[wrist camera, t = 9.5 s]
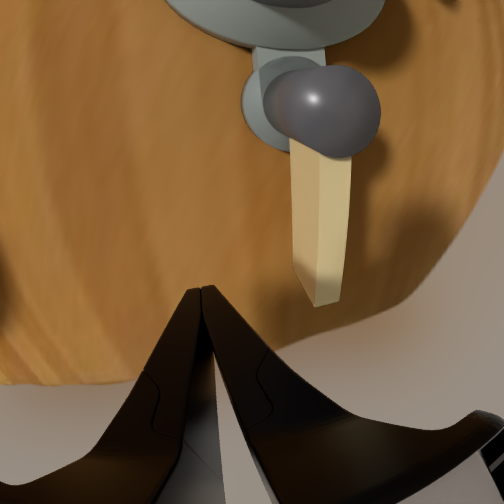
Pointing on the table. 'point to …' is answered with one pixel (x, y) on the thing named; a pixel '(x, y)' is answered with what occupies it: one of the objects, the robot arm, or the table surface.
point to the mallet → (322, 163)
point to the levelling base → (277, 40)
